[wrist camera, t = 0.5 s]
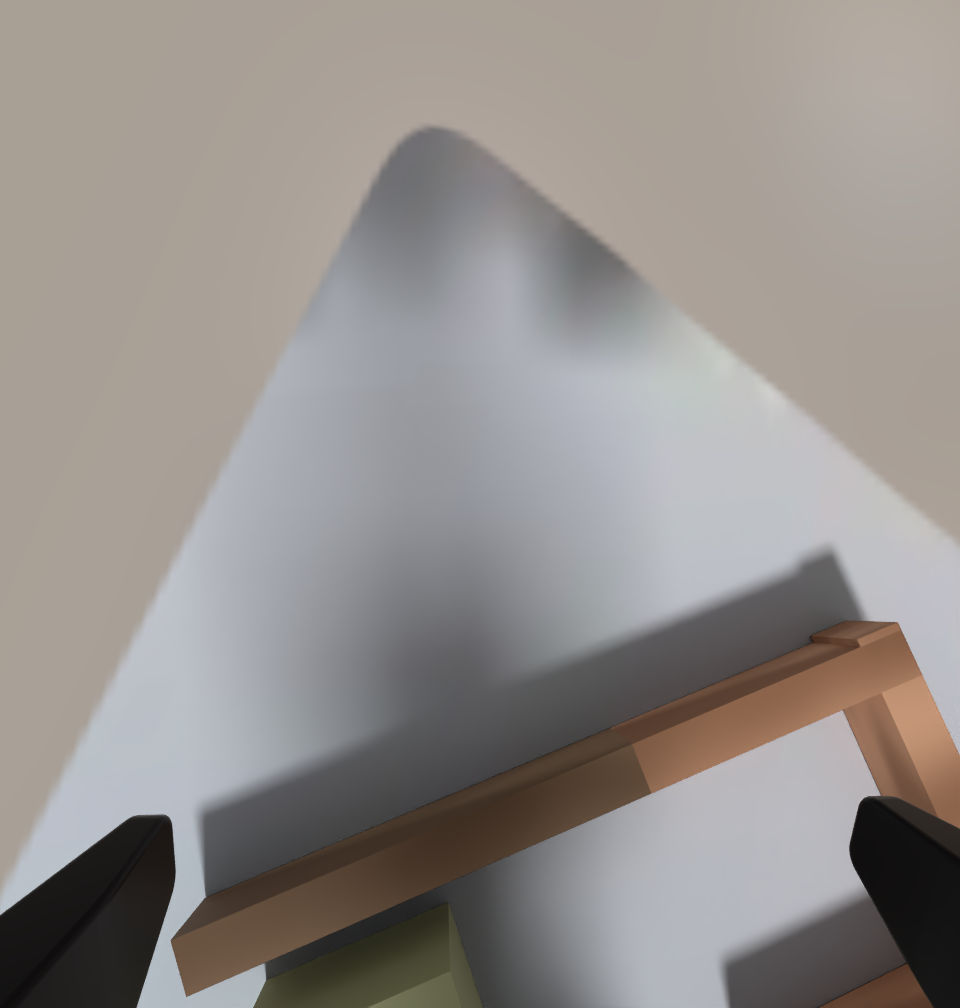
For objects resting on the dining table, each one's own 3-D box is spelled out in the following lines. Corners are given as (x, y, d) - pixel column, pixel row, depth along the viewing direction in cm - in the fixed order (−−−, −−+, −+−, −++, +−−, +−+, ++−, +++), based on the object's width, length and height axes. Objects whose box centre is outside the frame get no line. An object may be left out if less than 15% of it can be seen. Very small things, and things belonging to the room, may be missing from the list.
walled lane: (1009, 978, 20) (1087, 1028, 18) (329, 1328, 18) (311, 1445, 15) (846, 620, 22) (897, 622, 20) (202, 889, 19) (168, 930, 17)
